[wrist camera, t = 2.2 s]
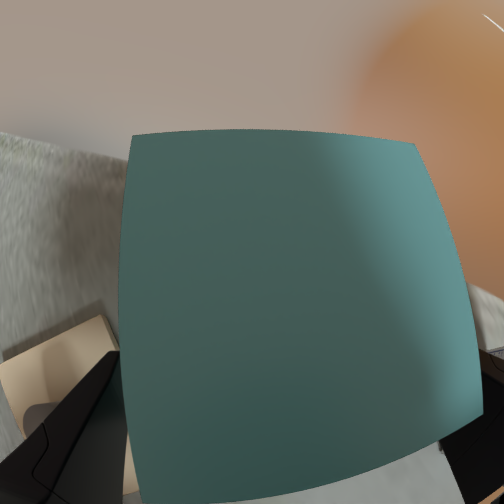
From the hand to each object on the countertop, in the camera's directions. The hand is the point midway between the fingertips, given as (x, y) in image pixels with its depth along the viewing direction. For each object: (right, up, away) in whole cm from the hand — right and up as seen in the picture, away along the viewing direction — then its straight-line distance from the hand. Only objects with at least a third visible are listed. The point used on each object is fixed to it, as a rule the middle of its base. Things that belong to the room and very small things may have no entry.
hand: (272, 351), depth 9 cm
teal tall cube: (-1, -2, +8) cm, 8 cm away
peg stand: (-11, -7, +5) cm, 13 cm away
